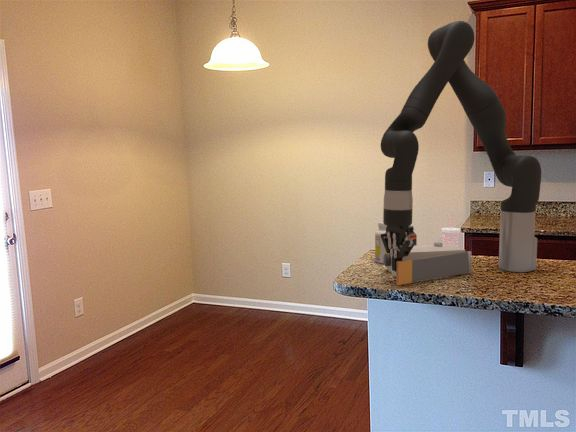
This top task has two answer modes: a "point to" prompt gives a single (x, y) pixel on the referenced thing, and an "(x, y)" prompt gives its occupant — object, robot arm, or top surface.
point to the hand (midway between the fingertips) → (396, 270)
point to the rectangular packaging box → (424, 253)
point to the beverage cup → (450, 234)
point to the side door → (432, 267)
